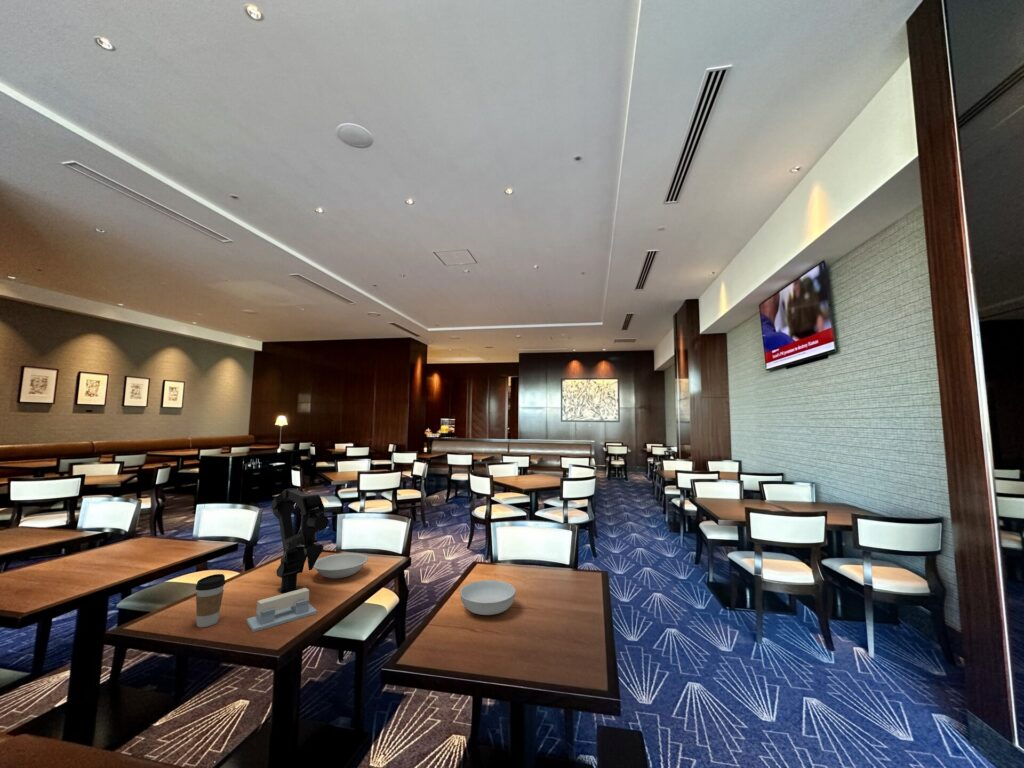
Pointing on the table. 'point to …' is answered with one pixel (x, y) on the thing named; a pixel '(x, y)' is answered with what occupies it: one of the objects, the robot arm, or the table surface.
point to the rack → (280, 615)
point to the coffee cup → (209, 599)
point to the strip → (282, 600)
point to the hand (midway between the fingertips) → (306, 567)
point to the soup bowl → (340, 564)
